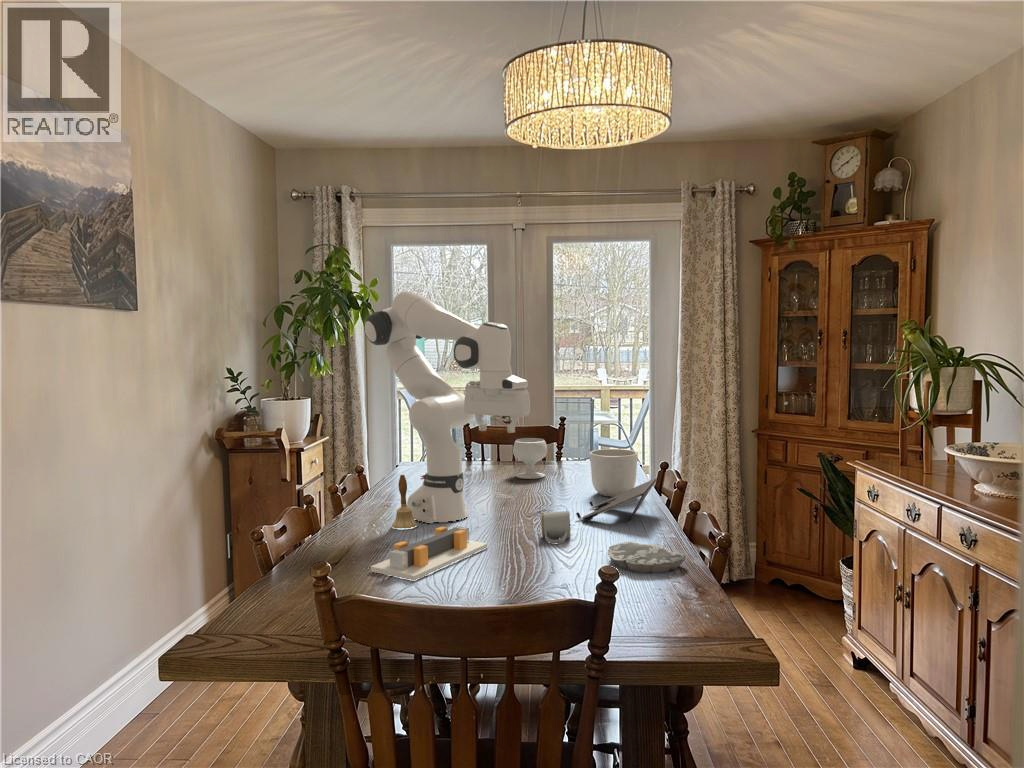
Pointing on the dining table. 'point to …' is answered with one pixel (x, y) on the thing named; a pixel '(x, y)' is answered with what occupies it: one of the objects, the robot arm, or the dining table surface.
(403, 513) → the hand bell
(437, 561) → the pegged board
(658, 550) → the brain slice
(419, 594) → the dining table surface
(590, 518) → the portable electronic device stand
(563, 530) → the ceramic mug
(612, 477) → the planter
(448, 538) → the bar
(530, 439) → the chalice
